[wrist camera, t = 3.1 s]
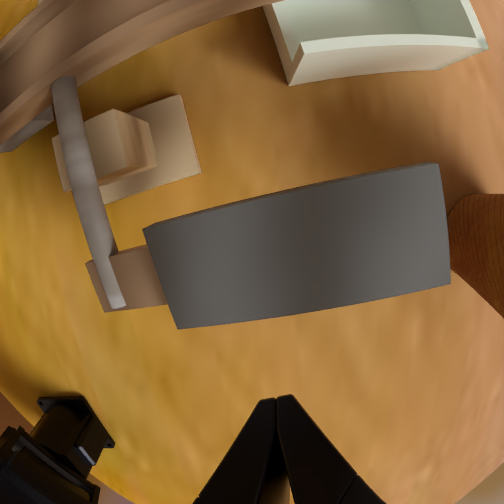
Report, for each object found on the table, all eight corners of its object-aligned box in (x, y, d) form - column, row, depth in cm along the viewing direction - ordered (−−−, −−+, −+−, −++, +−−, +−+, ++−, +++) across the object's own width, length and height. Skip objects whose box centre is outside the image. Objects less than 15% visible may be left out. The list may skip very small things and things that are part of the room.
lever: (57, 306, 20) (12, 338, 15) (2, 65, 15) (-46, 62, 10) (414, 244, 14) (450, 283, 9) (304, -88, 9) (294, -141, 5)
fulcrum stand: (89, 210, 19) (38, 227, 14) (57, 43, 16) (10, 18, 10) (202, 172, 19) (180, 175, 13) (157, -3, 16) (130, -49, 10)
